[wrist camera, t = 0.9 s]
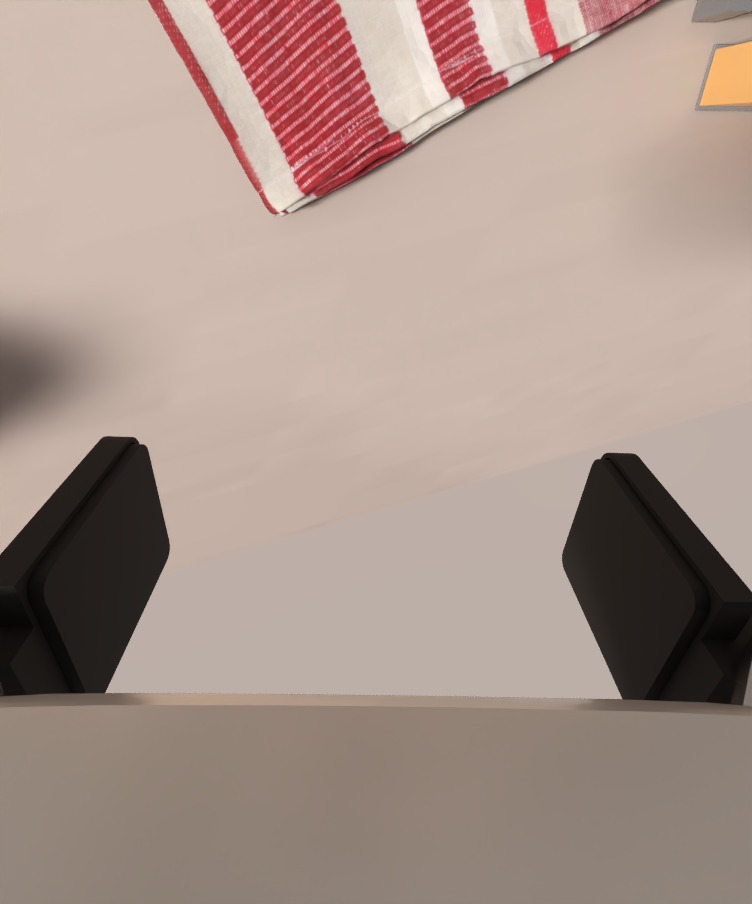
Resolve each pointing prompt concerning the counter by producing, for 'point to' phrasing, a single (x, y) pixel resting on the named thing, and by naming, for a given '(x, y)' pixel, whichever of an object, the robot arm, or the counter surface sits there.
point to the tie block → (730, 77)
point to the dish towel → (361, 74)
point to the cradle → (714, 6)
